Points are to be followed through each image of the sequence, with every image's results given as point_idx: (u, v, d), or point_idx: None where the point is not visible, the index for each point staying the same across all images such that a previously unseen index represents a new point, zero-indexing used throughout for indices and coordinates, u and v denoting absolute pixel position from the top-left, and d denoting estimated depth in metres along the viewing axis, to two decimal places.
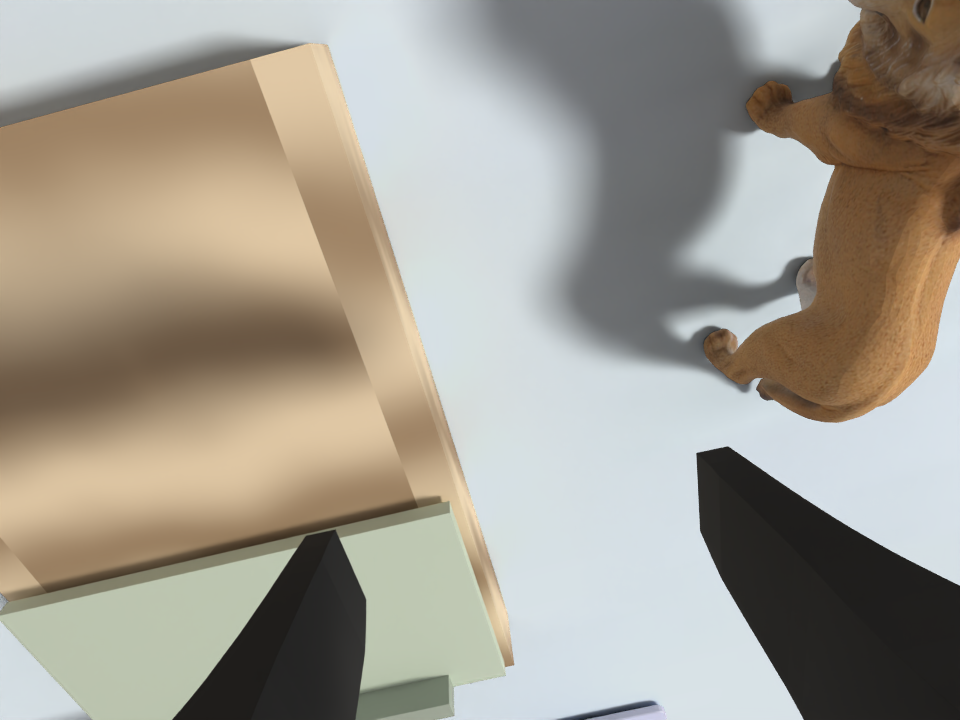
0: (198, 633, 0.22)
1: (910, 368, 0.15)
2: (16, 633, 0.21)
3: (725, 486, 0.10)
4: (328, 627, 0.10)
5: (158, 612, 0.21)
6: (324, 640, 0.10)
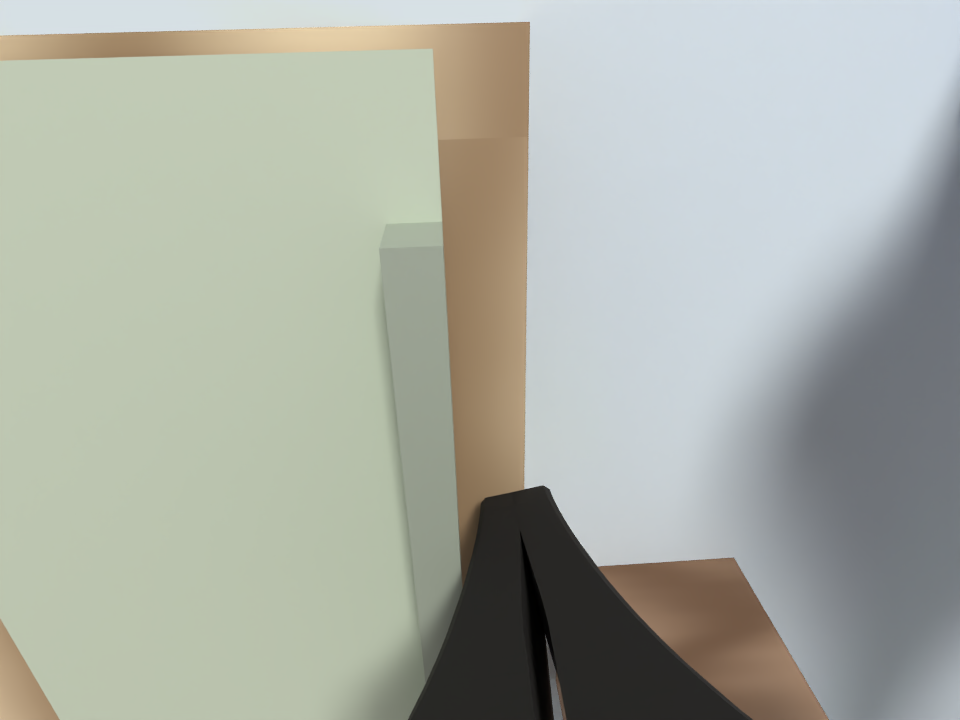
0: (165, 633, 0.12)
1: None
2: None
3: None
4: (530, 585, 0.10)
5: (104, 664, 0.12)
6: (531, 598, 0.10)
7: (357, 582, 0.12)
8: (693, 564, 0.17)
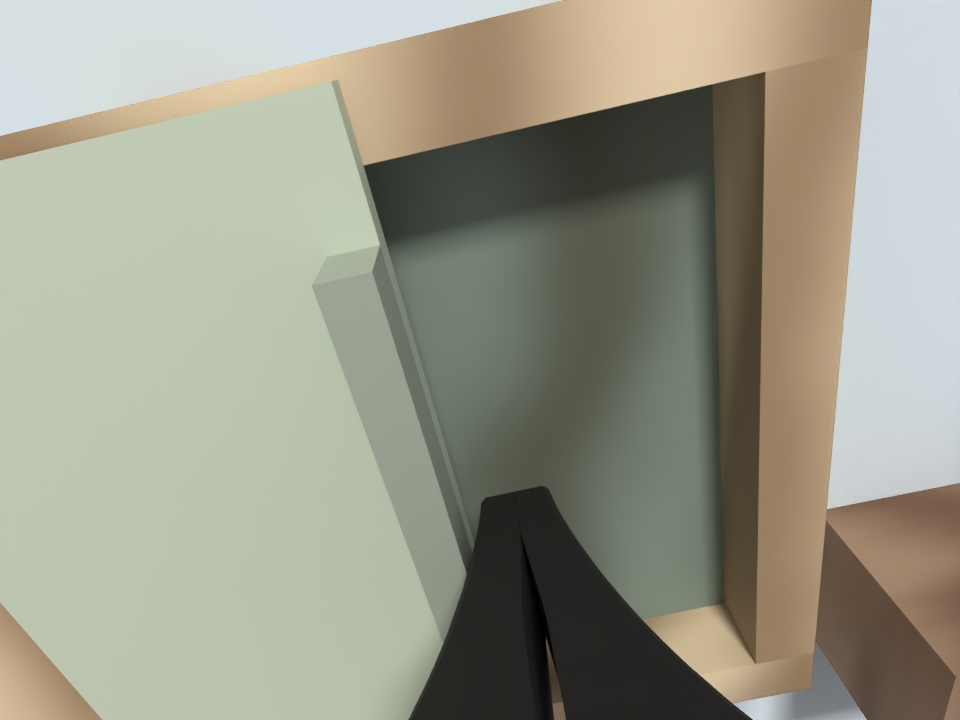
0: (214, 670, 0.13)
1: None
2: None
3: None
4: (530, 586, 0.10)
5: (165, 705, 0.13)
6: (531, 597, 0.10)
7: (381, 600, 0.12)
8: (957, 487, 0.16)
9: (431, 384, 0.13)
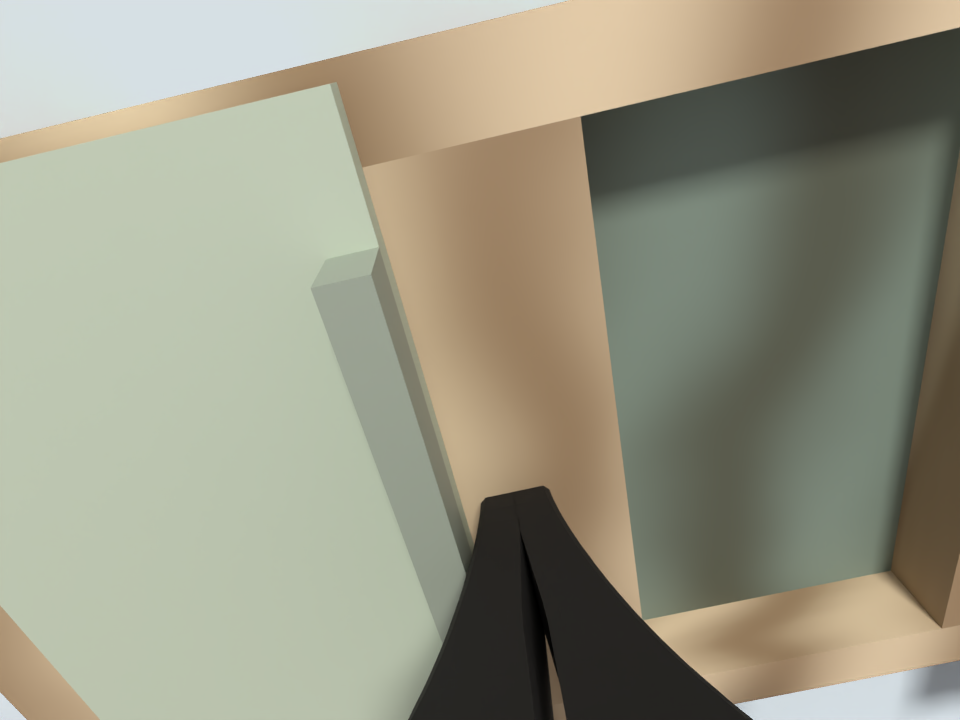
0: (214, 672, 0.13)
1: None
2: None
3: None
4: (530, 585, 0.10)
5: (165, 708, 0.13)
6: (531, 597, 0.10)
7: (380, 602, 0.12)
8: None
9: (642, 339, 0.13)
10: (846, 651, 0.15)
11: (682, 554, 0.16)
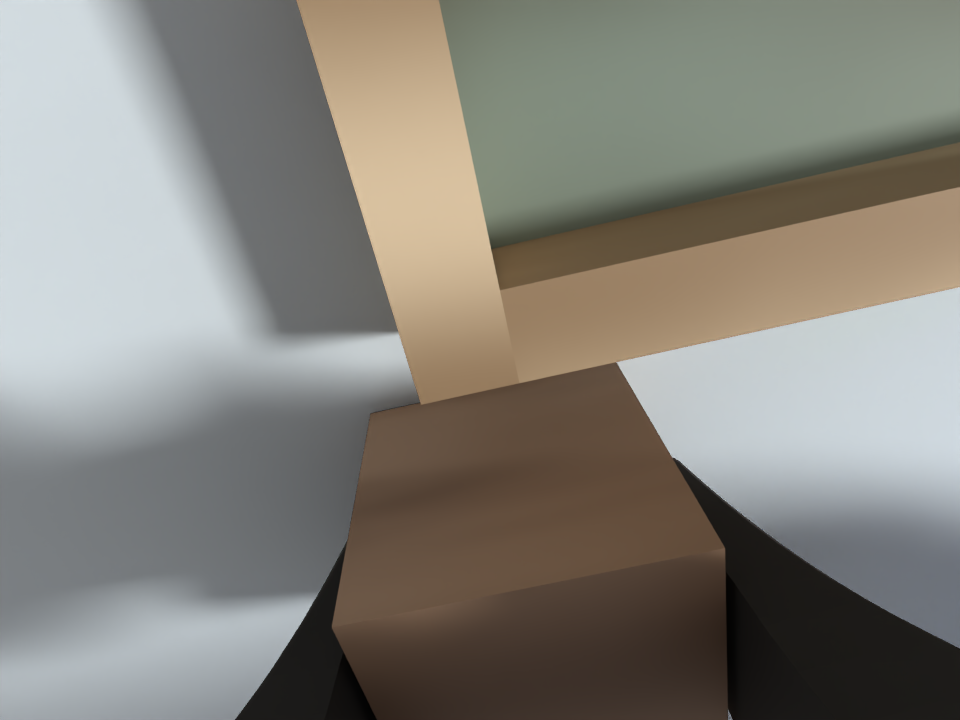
0: None
1: None
2: None
3: None
4: None
5: None
6: None
7: None
8: None
9: None
10: (445, 106, 0.07)
11: None
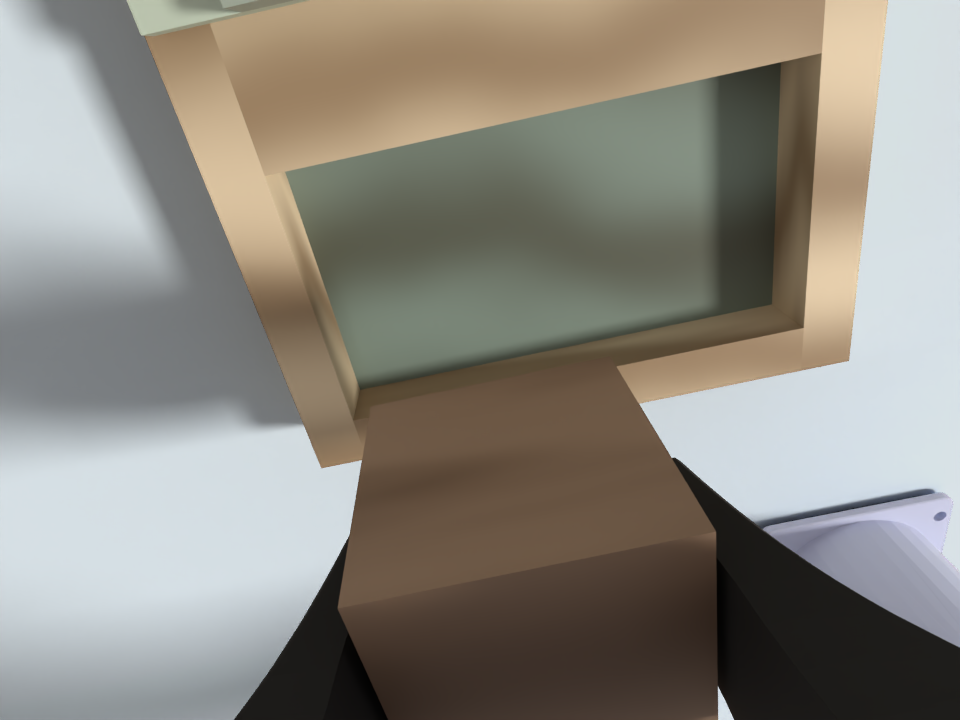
0: None
1: None
2: None
3: None
4: None
5: None
6: None
7: None
8: None
9: (601, 137, 0.17)
10: (322, 354, 0.17)
11: (379, 205, 0.17)
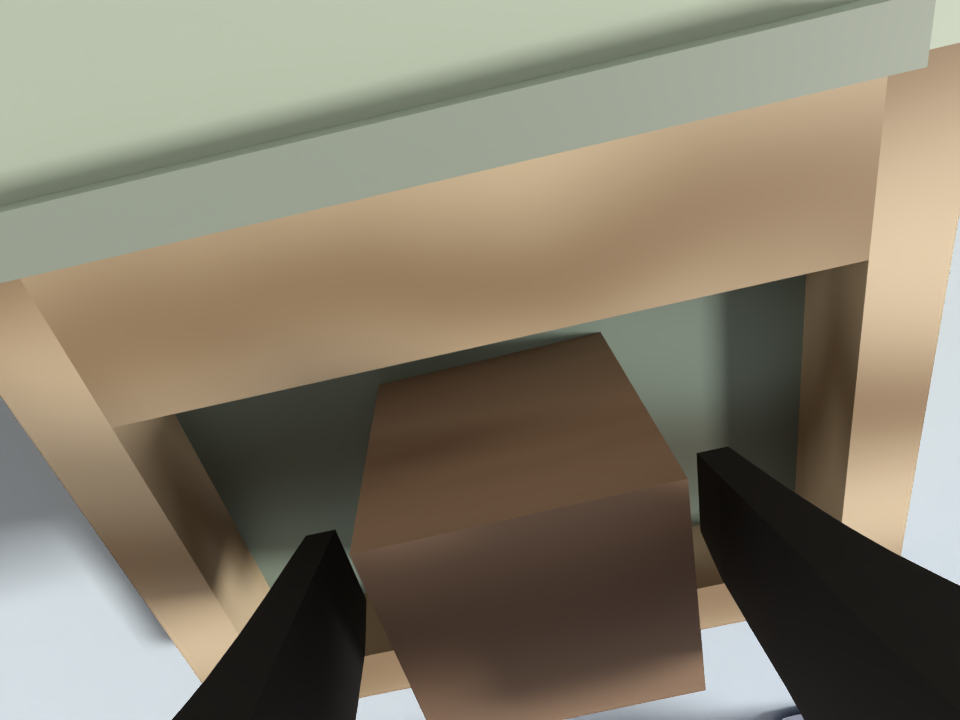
0: None
1: None
2: None
3: (725, 486, 0.10)
4: (328, 627, 0.10)
5: None
6: (324, 640, 0.10)
7: (311, 18, 0.07)
8: None
9: (572, 332, 0.13)
10: (216, 612, 0.13)
11: (287, 418, 0.13)
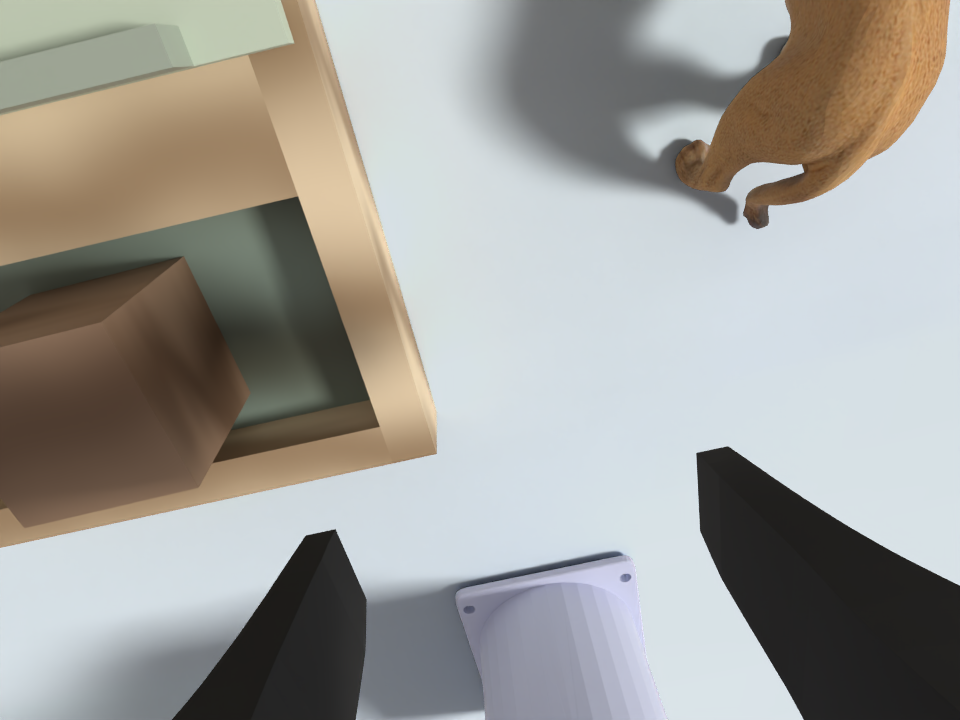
0: None
1: (914, 77, 0.11)
2: None
3: (725, 486, 0.10)
4: (328, 627, 0.10)
5: None
6: (323, 640, 0.10)
7: None
8: (233, 364, 0.19)
9: (165, 257, 0.18)
10: None
11: None
